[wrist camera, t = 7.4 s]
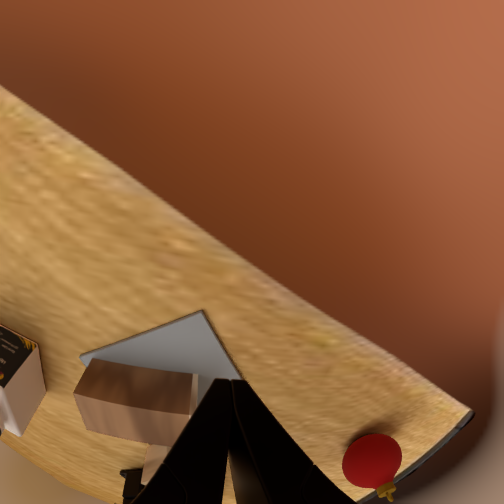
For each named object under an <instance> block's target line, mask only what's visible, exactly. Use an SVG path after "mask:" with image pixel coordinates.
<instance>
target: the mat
mask: <svg viewBox="0 0 504 504" xmlns="http://www.w3.org/2000/svg"><path fill="white" fill-rule="evenodd" d="M79 358H80V360H81V361H82V362H83V364H84V365H85V366H86V368H87V366H88V365H89V363H90V361H91V359H92V358H96V359H100V360H105V361H110V362H115V363H121V364H126V365H132V366H138V367H144V368H151V369H158V370H165V371H173V372H182V373H192V374H198V394H197V406H198V404H199V403H200V401H201V399H202V398H203V396H204V395H205V393H206V391H207V390H208V388H209V386H210V385H211V383H212V381H213V380H214V379H215V378H226V379H229V380H231V379H242V378H241V376H240V374H239V373H238V371H237V370H236V368H235V366H234V365H233V363H232V361H231V360H230V358H229V356H228V355H227V353H226V351H225V350H224V348H223V346H222V345H221V343H220V341H219V340H218V338H217V336H216V334H215V333H214V331H213V329H212V328H211V326H210V324H209V322H208V321H207V319H206V317H205V315H204V313H203V312H202V310H200V311H198V312H195V313H193V314H190V315H188V316H185V317H182V318H180V319H177V320H175V321H172V322H169V323H167V324H164V325H162V326H159V327H156V328H154V329H151V330H148V331H146V332H143V333H140V334H138V335H135V336H132V337H129V338H127V339H124V340H121V341H118V342H116V343H113V344H110V345H107V346H104V347H102V348H99V349H96V350H93V351H90V352H87V353H84V354H82V355H80V357H79Z"/></svg>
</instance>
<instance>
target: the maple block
mask: <svg viewBox="0 0 504 504" xmlns="http://www.w3.org/2000/svg"><path fill="white" fill-rule="evenodd" d="M171 448H172V447H168V446H161V445H154V444H152V445H150V446H148V447H147V451H146V456H145V462H144V467H143V473H142V479H141V484H143V485H145V486H146V485H147V483H148V482H149V480H150V479H151V478H152V476H153V475H154V473H155V472H156V470H157V469H158V467H159V466H160V464H161V463H163V460H164V458H165V457H166V455H167V454H168V452H169V451H170V449H171Z"/></svg>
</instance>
